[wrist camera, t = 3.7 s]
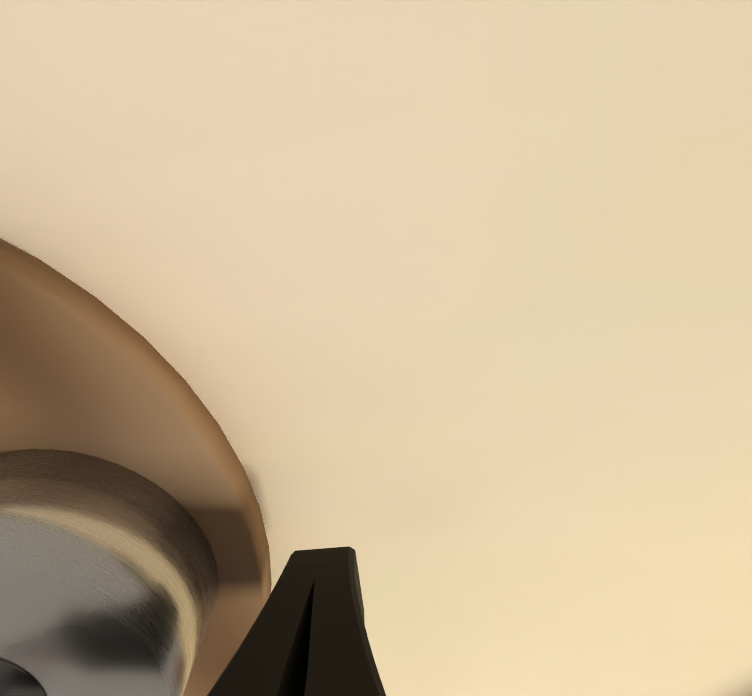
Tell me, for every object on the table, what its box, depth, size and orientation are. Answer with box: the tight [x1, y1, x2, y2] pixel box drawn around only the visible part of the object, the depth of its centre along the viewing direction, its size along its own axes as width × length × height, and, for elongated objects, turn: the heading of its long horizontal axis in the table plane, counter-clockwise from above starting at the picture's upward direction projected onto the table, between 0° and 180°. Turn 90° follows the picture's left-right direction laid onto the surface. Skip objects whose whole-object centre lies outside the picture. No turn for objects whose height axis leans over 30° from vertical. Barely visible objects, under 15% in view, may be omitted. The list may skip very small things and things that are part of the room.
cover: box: [0, 449, 219, 696], centre depth 10 cm, size 7×7×3 cm
